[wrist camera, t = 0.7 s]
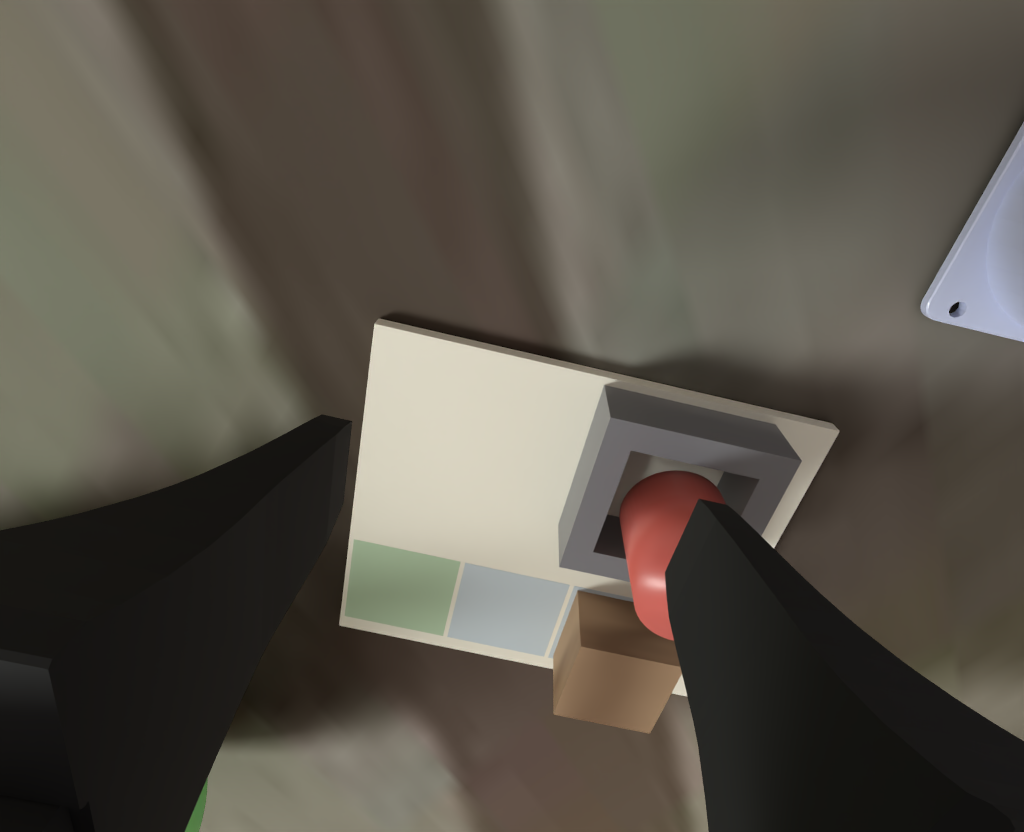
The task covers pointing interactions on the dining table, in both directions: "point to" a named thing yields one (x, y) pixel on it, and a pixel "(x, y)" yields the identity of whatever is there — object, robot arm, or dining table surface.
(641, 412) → the dome collar
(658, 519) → the dome button
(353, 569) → the board
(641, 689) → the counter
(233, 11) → the dining table surface
